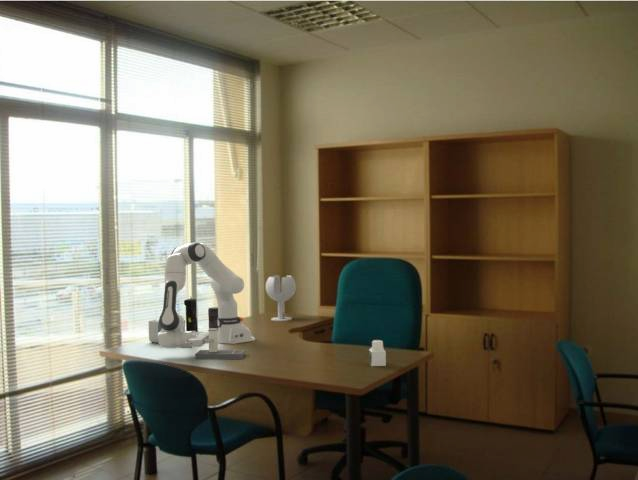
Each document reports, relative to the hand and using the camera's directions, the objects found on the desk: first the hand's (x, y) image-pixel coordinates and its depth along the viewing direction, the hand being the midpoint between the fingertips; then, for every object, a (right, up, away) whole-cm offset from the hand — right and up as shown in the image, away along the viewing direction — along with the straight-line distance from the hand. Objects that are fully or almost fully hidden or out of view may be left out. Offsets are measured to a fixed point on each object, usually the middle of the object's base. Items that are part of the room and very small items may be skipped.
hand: (214, 339), depth 353 cm
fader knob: (-1, -6, 0) cm, 6 cm away
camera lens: (-11, -6, +74) cm, 76 cm away
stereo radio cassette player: (-33, -8, +40) cm, 53 cm away
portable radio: (-23, -7, +58) cm, 62 cm away
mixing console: (+3, -9, 0) cm, 9 cm away
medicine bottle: (+82, -9, -23) cm, 86 cm away
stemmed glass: (+28, -4, +117) cm, 120 cm away
